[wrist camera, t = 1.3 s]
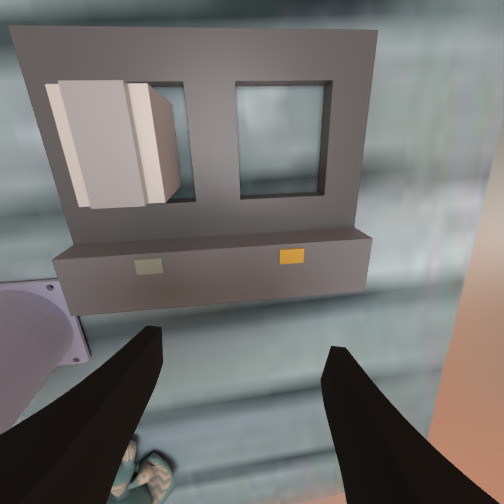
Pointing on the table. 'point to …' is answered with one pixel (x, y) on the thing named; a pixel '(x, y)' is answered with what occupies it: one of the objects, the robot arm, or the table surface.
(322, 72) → the socket panel
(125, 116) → the plug
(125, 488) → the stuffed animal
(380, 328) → the table surface
